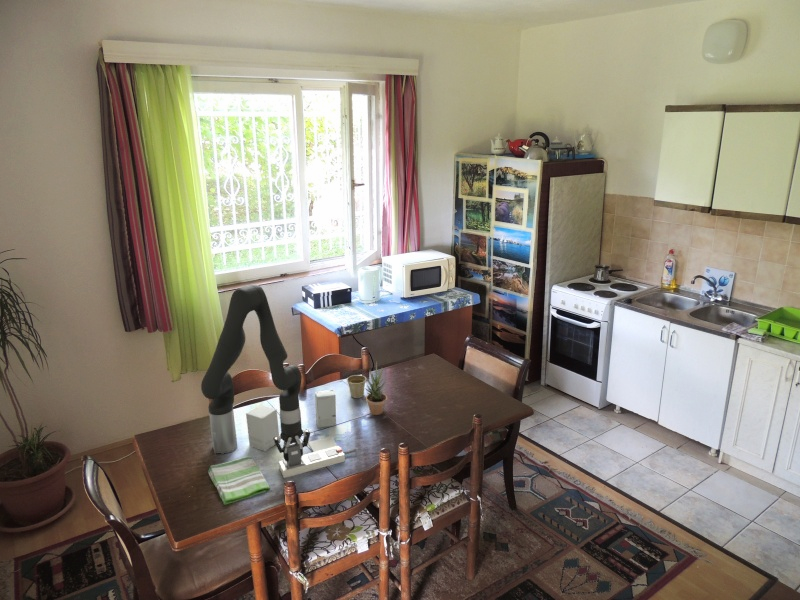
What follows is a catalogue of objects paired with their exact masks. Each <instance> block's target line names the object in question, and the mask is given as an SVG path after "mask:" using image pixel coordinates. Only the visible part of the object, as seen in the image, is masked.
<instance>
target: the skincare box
mask: <svg viewBox="0 0 800 600" xmlns="http://www.w3.org/2000/svg"><path fill="white" fill-rule="evenodd" d="M314 398H315V399H314V400H315V401H314V402H315V422H316V426H317V428H318V429H321V428H327V427H335V426H337V410H336V409H337V408H336V406H337V403H336V402H337V401H336V393H335V391H334V389H329V390H328V389H326V390H320V391H319V390H318V391H315V392H314Z"/></svg>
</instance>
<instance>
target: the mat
mask: <svg viewBox="0 0 800 600" xmlns="http://www.w3.org/2000/svg"><path fill="white" fill-rule="evenodd" d="M308 446H309V448H310V449H311V450H312V453H313V452H317V451H320V450H324V449H328V448H332V447H336V446H339V445H338V444H337V443H336V441H335V439H333V436H326V437H322V438H319V439H315V440H311V441H308Z"/></svg>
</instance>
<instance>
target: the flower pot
mask: <svg viewBox="0 0 800 600" xmlns="http://www.w3.org/2000/svg"><path fill="white" fill-rule="evenodd" d="M346 382H347V384H348V387H349V392H350V397H352V398H354V399H360V398H362V397H364V396H365V388H366V387H365V385H366V382H367V377H366V376H365V375H360V374H354V375H350V376H349V377H348V376H347V378H346Z"/></svg>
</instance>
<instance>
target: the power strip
mask: <svg viewBox="0 0 800 600" xmlns="http://www.w3.org/2000/svg"><path fill="white" fill-rule="evenodd" d="M355 452H357V449H356V448H355V449H351V450H347V451H344V452H343V449H342V447H340V446H339V445H338V446H336V447H332V448H328V449H324V450H320V451H317V452H313V451H312V452H309V453H307V454H303V456H302V458H301V464H299V465H295V466H291V467H289V465H288V463H287V461H286V460H285V459H284V458H282V460H278V467H279V470H280V473H281V474H282V477H283V479H286V478H289V477H293V476H296V475H300V474H304V473H307V472H311V471H315V470H318V469H322V468H325V467H329V466H332V465H336V464H339V463H340V464H341V463H343V462H345V461H346V457H345V455H348V454H352V453H355Z"/></svg>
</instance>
